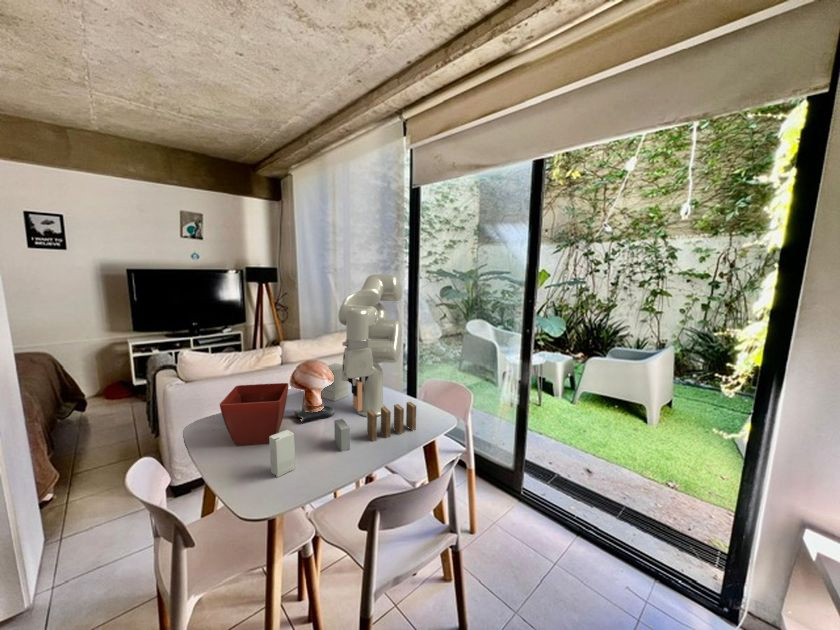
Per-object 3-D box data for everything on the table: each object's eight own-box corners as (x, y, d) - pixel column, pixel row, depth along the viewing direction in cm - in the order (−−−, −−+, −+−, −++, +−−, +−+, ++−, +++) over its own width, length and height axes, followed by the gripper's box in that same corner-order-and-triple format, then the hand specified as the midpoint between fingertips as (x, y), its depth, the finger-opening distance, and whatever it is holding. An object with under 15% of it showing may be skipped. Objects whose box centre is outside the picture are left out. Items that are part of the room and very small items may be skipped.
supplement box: (336, 391, 173) (336, 362, 170) (348, 395, 167) (348, 366, 165) (321, 397, 165) (321, 366, 163) (334, 401, 160) (333, 370, 158)
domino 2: (386, 437, 128) (386, 412, 127) (380, 432, 132) (381, 407, 131) (390, 436, 129) (390, 411, 127) (384, 431, 133) (384, 406, 132)
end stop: (341, 451, 118) (341, 429, 117) (334, 441, 125) (334, 420, 124) (350, 449, 120) (349, 427, 118) (342, 439, 126) (342, 418, 125)
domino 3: (399, 434, 131) (400, 409, 129) (393, 429, 135) (394, 404, 134) (403, 433, 132) (403, 408, 130) (397, 428, 136) (397, 404, 134)
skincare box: (288, 464, 110) (287, 428, 108) (296, 469, 107) (295, 433, 106) (269, 472, 106) (268, 435, 104) (277, 478, 103) (275, 440, 101)
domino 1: (372, 441, 125) (372, 415, 124) (367, 435, 130) (367, 410, 128) (376, 440, 126) (376, 414, 125) (371, 434, 130) (371, 409, 129)
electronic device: (303, 429, 137) (338, 414, 145) (300, 416, 136) (335, 402, 145) (296, 423, 144) (329, 410, 153) (293, 411, 143) (326, 398, 152)
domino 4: (412, 431, 134) (412, 406, 132) (406, 426, 138) (406, 402, 136) (415, 430, 134) (416, 406, 133) (409, 425, 139) (410, 401, 137)
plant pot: (238, 426, 134) (236, 384, 132) (290, 422, 138) (288, 382, 136) (221, 452, 116) (218, 404, 113) (281, 447, 120) (279, 401, 117)
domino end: (358, 411, 121) (357, 383, 119) (353, 406, 125) (352, 379, 123) (362, 410, 121) (362, 383, 120) (357, 405, 126) (357, 378, 124)
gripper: (338, 348, 113) (339, 402, 115) (382, 344, 120) (381, 394, 123) (332, 343, 119) (332, 394, 122) (374, 340, 127) (373, 388, 129)
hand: (357, 394), depth 122 cm, fingers closed on domino end, 1 cm apart
